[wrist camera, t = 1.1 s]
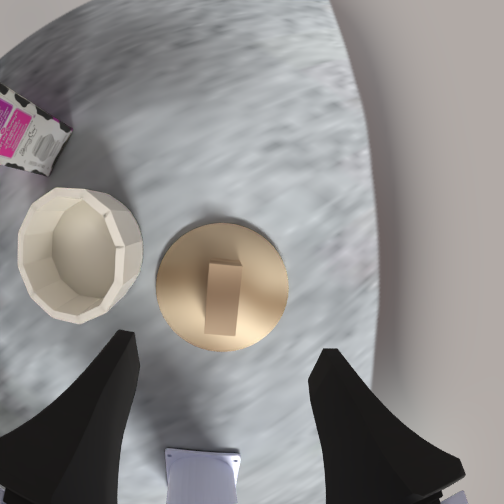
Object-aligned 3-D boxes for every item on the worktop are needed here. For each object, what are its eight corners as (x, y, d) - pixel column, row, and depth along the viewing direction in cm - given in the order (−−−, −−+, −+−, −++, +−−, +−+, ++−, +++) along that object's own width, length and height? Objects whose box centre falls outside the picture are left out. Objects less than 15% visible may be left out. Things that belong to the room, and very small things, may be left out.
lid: (277, 350, 24) (286, 370, 20) (156, 341, 23) (147, 360, 19) (293, 230, 23) (307, 232, 19) (162, 216, 22) (152, 216, 18)
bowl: (140, 309, 22) (122, 332, 17) (50, 293, 20) (20, 309, 16) (149, 197, 21) (130, 192, 16) (55, 190, 20) (22, 186, 15)
